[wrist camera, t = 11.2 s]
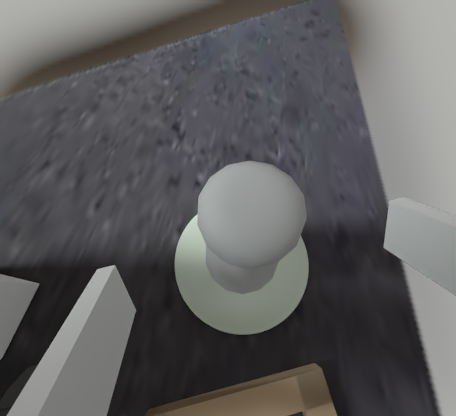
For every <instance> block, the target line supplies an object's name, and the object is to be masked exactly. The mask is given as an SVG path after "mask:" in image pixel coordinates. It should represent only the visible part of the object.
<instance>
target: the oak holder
mask: <svg viewBox="0 0 456 416" xmlns="http://www.w3.org/2000/svg"><path fill="white" fill-rule="evenodd" d="M299 412H302V413H303V416H337V414H336V411H335V408H334V405H333V402H332V398H331V395H330V392H329V389H328V386H327V383H326V380H325V377H324V374H323V371H322V368H320V367H319V366H318V365H317V364H315V363H312V364H308V365H305V366H301V367H298V368H294V369H290V370H287V371H283V372H280V373H276V374H272V375H269V376H265V377H262V378H258V379H254V380H251V381H247V382H244V383H240V384H236V385H233V386H229V387H226V388H222V389H218V390H215V391H211V392H208V393H204V394H200V395H197V396H193V397H190V398H186V399H182V400H179V401H175V402H172V403H168V404H164V405H161V406H157V407H154V408H150V409H149V410H148V411H147V412H146V414H145V415H144V416H288V415H292V414H295V413H299Z"/></svg>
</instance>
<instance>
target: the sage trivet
mask: <svg viewBox="0 0 456 416" xmlns="http://www.w3.org/2000/svg"><path fill="white" fill-rule="evenodd" d="M197 222H198V214H197V215H196V216H195V217H194V218H193V219H192V220H191V221H190V223H189V224H188V225H187V227H186V228H185V230H184V231H183V233H182V235H181V237H180V239H179V242H178V246H177V249H176V254H175V276H176V281H177V285H178V288H179V291H180V293H181V295H182V297H183V299H184V301H185V302H186V304H187V305H188V307H189V308H190V309H191V310H192V312H193V313H194V314H195V315H196V316H197V317H198V318H200V319H201V320H202V321H203V322H205V323H206V324H208V325H209V326H211V327H213V328H215V329H218V330H220V331H223V332H227V333H230V334H239V335H246V334H255V333H260V332H263V331H266V330H269V329H271V328H273V327H274V326H276V325H278V324H279V323H281V322H282V321H284V320H285V319H286V318H287V317H288V316H289V315H290V314H291V313H292V312H293V311H294V309H295V308H296V307H297V305H298V304H299V302H300V300H301V298H302V296H303V294H304V291H305V289H306V285H307V280H308V272H309V265H308V256H307V251H306V247H305V244H304V242H303V239H302V237H301V236H300V238H299V241H298V244H297V246H296V247H295V248H294V249H293V250H292V251H290V252H289V253H288V254H287V255H286V256H284V257H283V258H282V259H281V260H280V261H279V262H278V265H277V268H276V270H275V273H274V276H273V279H272V280H270V281H269V282H268V283H267V284H266V285H265V286H263V287H262V288H261V289H260V290H257V291H254V292H250V293H246V294H239V293H235V292H231V291H227V290H225V289H224V288H223V287H221V286H220V285H219V284H218V283H217V282H215V281H214V280H213V279H212V277H211V275H210V272H209V270H208V268H207V265H206V243H205V241H204V239H203V236H202V234H201V232H200V230H199V227H198V225H197Z"/></svg>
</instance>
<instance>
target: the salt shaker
mask: <svg viewBox="0 0 456 416" xmlns="http://www.w3.org/2000/svg"><path fill="white" fill-rule="evenodd" d="M306 219H307V216H306V209H305V201H304V195H303V194H302V192H301V191H300V189H299V188H298V186H297V185H296V184H295V182H294V181H293V179H292V178H291V177H290V176H289V175H287V174H286V173H284V172H283V171H281V170H279V169H278V168H276V167H275V166H273V165H272V164H266V163H260V162H254V161H245V162H240V163H235V164H230V165H227V166H226V167H224V168H223V169H221V170H220V171H218V172H217V173H216V174H214V175H213V176H211V177H210V178H209V180H208V182H207V183H206V185H205V187H204V188H203V190H202V192H201V193H200V195H199V200H198V222H197V225H198V227H199V230H200V232H201V234H202V236H203V239H204V241H205V243H206V265H207V268H208V270H209V272H210V275H211V277H212V279H213V280H214V281H215V282H217V283H218V284H219V285H220V286H221V287H223V288H224V289H225V290H227V291H231V292H235V293H239V294H246V293H250V292H254V291H257V290H260V289H261V288H262V287H263V286H265V285H266V284H267V283H268V282H269V281H270V280H272V279H273V276H274V273H275V270H276V268H277V265H278V262H279V261H280V260H281V259H282V258H283V257H284V256H286V255H287V254H288V253H289V252H290V251H292V250H293V249H294V248H295V247H296V246H297V244H298V241H299V238H300V236H301V233H302V230H303V227H304V224H305V221H306Z"/></svg>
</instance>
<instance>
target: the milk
mask: <svg viewBox="0 0 456 416" xmlns="http://www.w3.org/2000/svg"><path fill="white" fill-rule="evenodd" d="M38 287H39V283H36V282H31V281H27V280H23V279H19V278H15V277H10V276H6V275H2V274H0V359H2V358H3V356H4V354H5V352H6V350H7V348H8V346H9V344H10V342H11V340H12V338H13V336H14V334H15V332H16V330H17V328H18V326H19V324H20V322H21V320H22V318H23V316H24V314H25V312H26V310H27V308H28V306H29V304H30V302H31V300H32V298H33V296H34V294H35V292H36V291H37V289H38Z"/></svg>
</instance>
